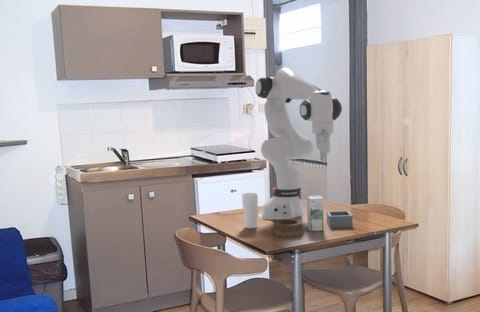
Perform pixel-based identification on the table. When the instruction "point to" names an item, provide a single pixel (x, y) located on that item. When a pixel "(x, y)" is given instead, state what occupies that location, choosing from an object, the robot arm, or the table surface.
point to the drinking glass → (250, 209)
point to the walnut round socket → (288, 228)
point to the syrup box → (315, 213)
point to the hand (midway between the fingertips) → (323, 161)
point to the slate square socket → (339, 219)
